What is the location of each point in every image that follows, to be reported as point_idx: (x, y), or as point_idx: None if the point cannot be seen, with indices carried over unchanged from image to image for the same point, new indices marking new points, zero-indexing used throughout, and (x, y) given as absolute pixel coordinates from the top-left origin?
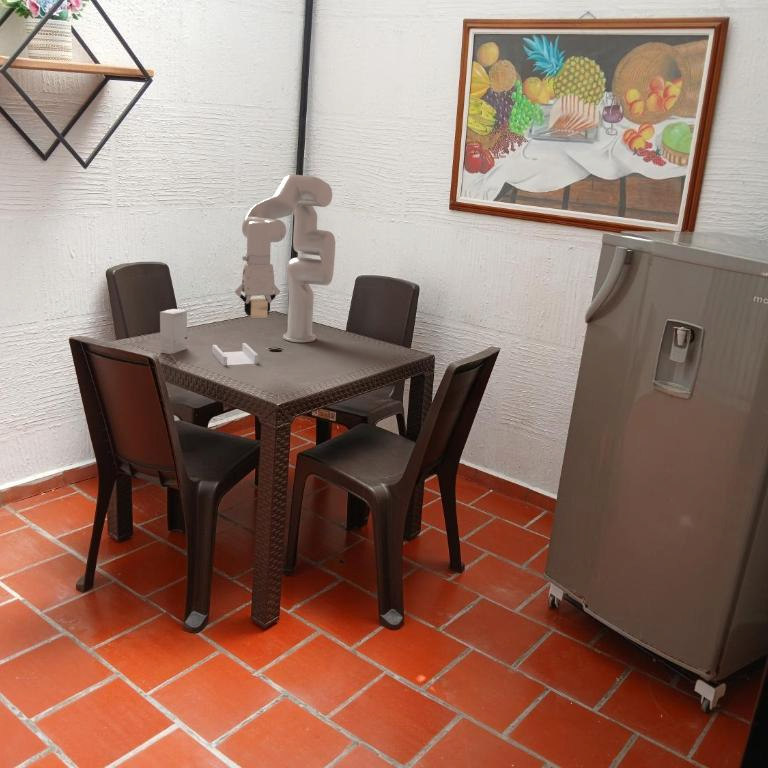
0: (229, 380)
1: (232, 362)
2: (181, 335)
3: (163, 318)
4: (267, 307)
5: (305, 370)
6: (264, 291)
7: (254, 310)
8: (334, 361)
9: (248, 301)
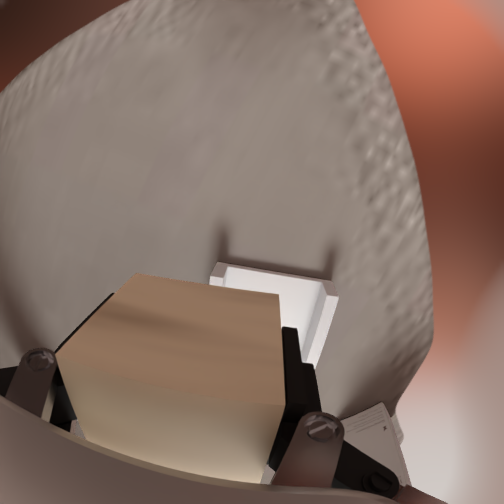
0: (375, 156)
1: (291, 301)
2: (360, 447)
3: (409, 479)
4: (95, 314)
5: (100, 162)
6: (17, 467)
7: (246, 328)
8: (19, 217)
9: (303, 433)
